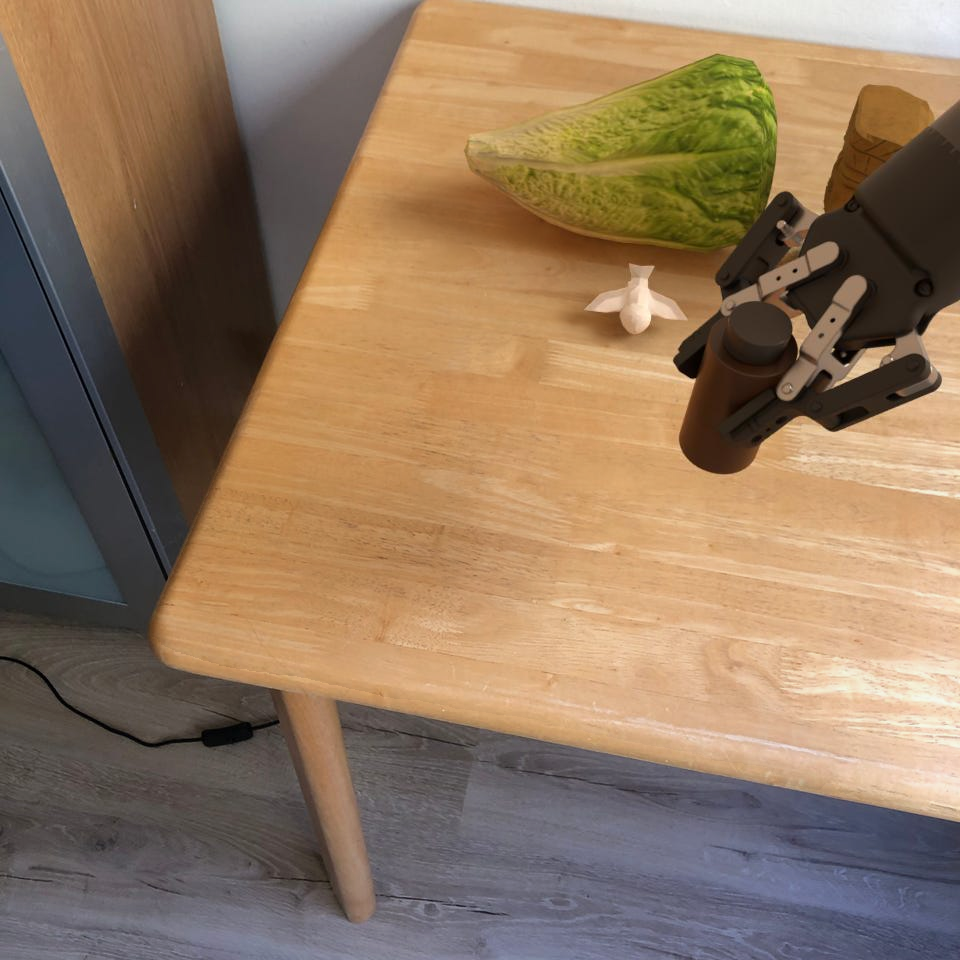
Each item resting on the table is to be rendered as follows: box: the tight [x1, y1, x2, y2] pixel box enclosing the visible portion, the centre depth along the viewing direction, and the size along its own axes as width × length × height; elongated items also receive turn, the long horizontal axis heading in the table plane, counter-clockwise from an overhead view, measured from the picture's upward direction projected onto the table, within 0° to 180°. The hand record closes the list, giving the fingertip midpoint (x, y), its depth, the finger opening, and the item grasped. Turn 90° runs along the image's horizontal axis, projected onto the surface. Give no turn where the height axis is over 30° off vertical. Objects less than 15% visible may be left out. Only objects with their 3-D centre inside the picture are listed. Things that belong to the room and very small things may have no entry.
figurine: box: [822, 83, 936, 213], centre depth 73 cm, size 7×7×15 cm
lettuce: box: [463, 53, 778, 253], centre depth 78 cm, size 14×24×15 cm
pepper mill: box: [678, 301, 799, 475], centre depth 53 cm, size 5×5×10 cm
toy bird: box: [583, 262, 689, 335], centre depth 74 cm, size 8×5×5 cm, turn 83°
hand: (704, 404), depth 53 cm, fingers closed on pepper mill, 4 cm apart
